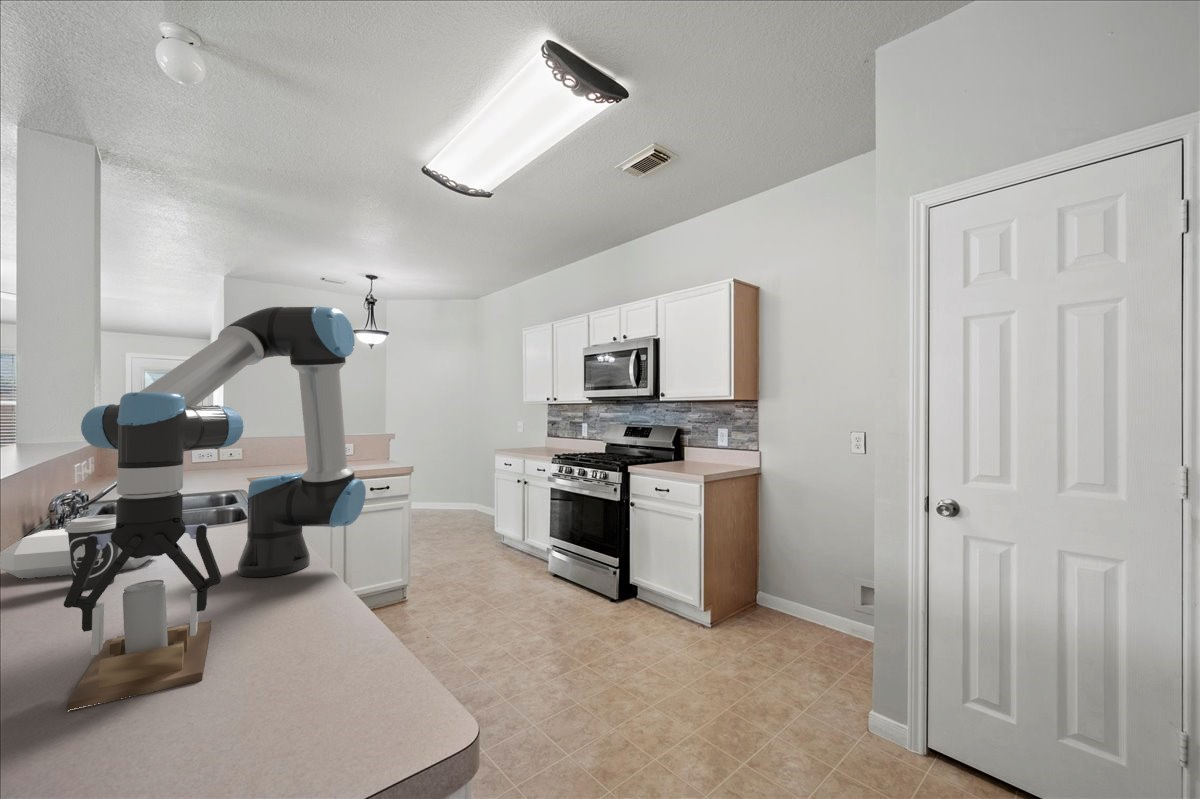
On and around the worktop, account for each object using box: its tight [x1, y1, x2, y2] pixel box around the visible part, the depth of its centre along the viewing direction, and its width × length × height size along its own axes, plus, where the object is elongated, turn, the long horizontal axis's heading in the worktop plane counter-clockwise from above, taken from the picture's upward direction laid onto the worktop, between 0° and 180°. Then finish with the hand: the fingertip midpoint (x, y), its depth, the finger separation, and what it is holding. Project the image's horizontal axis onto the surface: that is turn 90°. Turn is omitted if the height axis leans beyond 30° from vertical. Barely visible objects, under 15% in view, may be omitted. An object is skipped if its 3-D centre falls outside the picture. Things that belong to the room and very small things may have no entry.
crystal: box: [0, 528, 154, 580], centre depth 126 cm, size 14×10×28 cm
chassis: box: [66, 620, 212, 711], centre depth 80 cm, size 14×22×5 cm, turn 35°
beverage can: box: [122, 579, 168, 654], centre depth 76 cm, size 5×5×12 cm
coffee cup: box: [64, 514, 119, 591], centre depth 114 cm, size 10×10×15 cm
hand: (147, 641), depth 76 cm, fingers open, 10 cm apart
